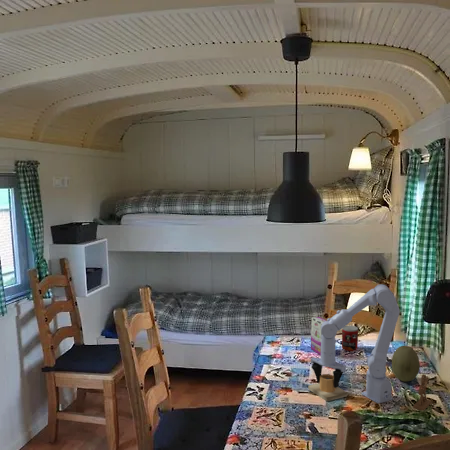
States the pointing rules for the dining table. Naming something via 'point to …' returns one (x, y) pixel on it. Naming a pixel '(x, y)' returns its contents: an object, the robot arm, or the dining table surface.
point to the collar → (327, 383)
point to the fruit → (405, 363)
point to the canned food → (350, 338)
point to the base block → (327, 395)
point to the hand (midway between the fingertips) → (327, 384)
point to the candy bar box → (316, 334)
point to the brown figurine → (423, 401)
